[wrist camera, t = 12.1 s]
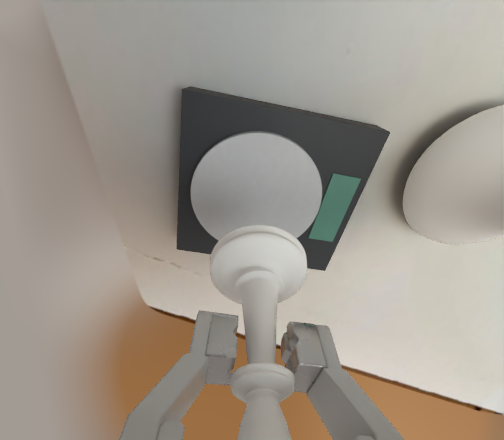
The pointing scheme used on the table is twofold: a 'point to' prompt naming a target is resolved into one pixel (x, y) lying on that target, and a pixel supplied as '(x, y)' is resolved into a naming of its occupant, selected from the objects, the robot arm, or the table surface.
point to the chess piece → (260, 318)
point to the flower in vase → (460, 183)
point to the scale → (269, 171)
